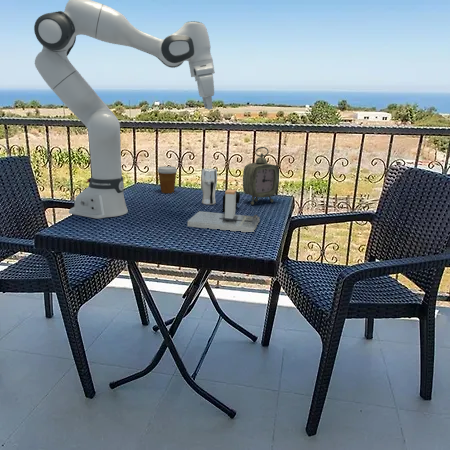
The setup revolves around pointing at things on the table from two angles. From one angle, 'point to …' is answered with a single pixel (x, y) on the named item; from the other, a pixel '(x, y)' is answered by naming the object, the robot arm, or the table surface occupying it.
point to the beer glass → (209, 185)
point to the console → (224, 222)
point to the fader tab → (230, 205)
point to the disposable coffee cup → (167, 178)
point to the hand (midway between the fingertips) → (208, 108)
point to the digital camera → (236, 200)
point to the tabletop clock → (260, 178)
